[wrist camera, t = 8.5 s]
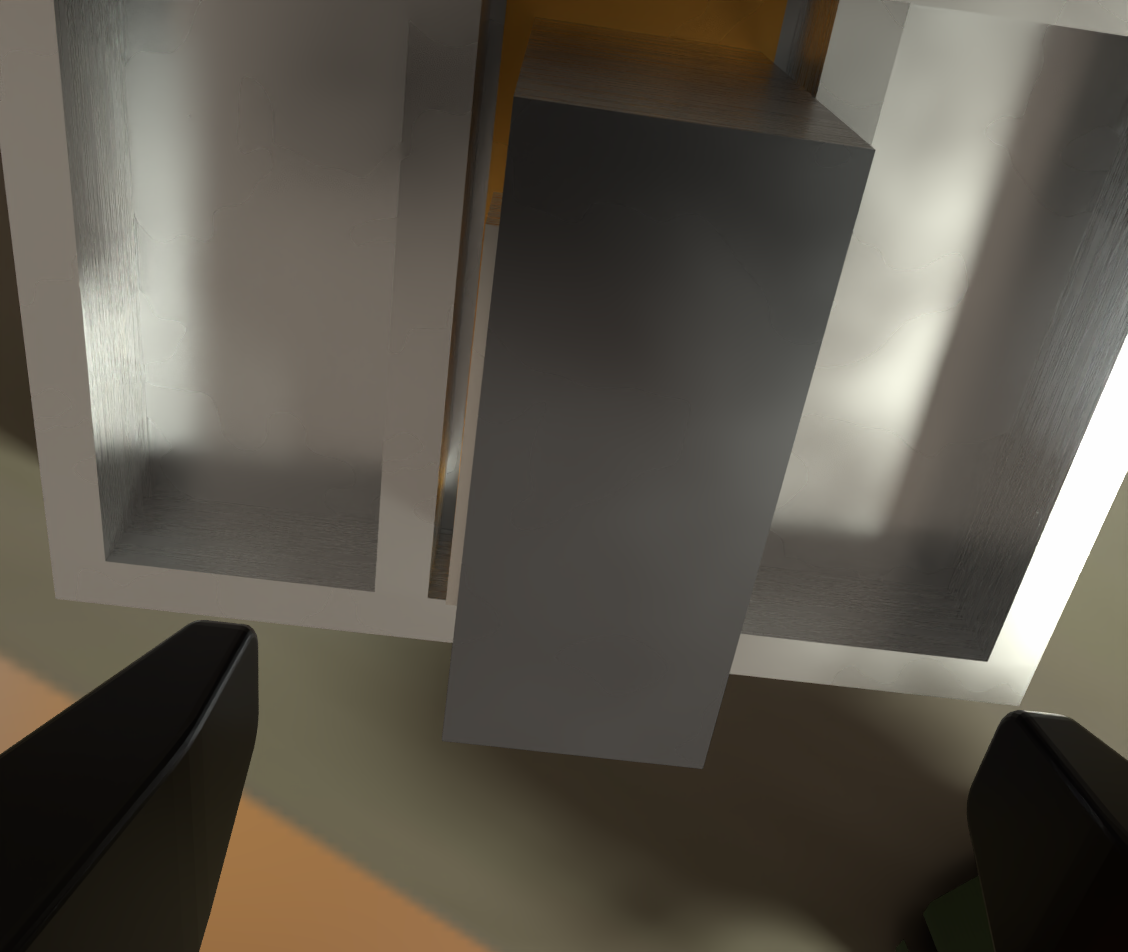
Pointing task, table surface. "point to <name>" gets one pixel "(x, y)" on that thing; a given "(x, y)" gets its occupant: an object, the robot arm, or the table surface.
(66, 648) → the table surface
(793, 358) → the dark grey block
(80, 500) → the rack
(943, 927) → the toy figurine
